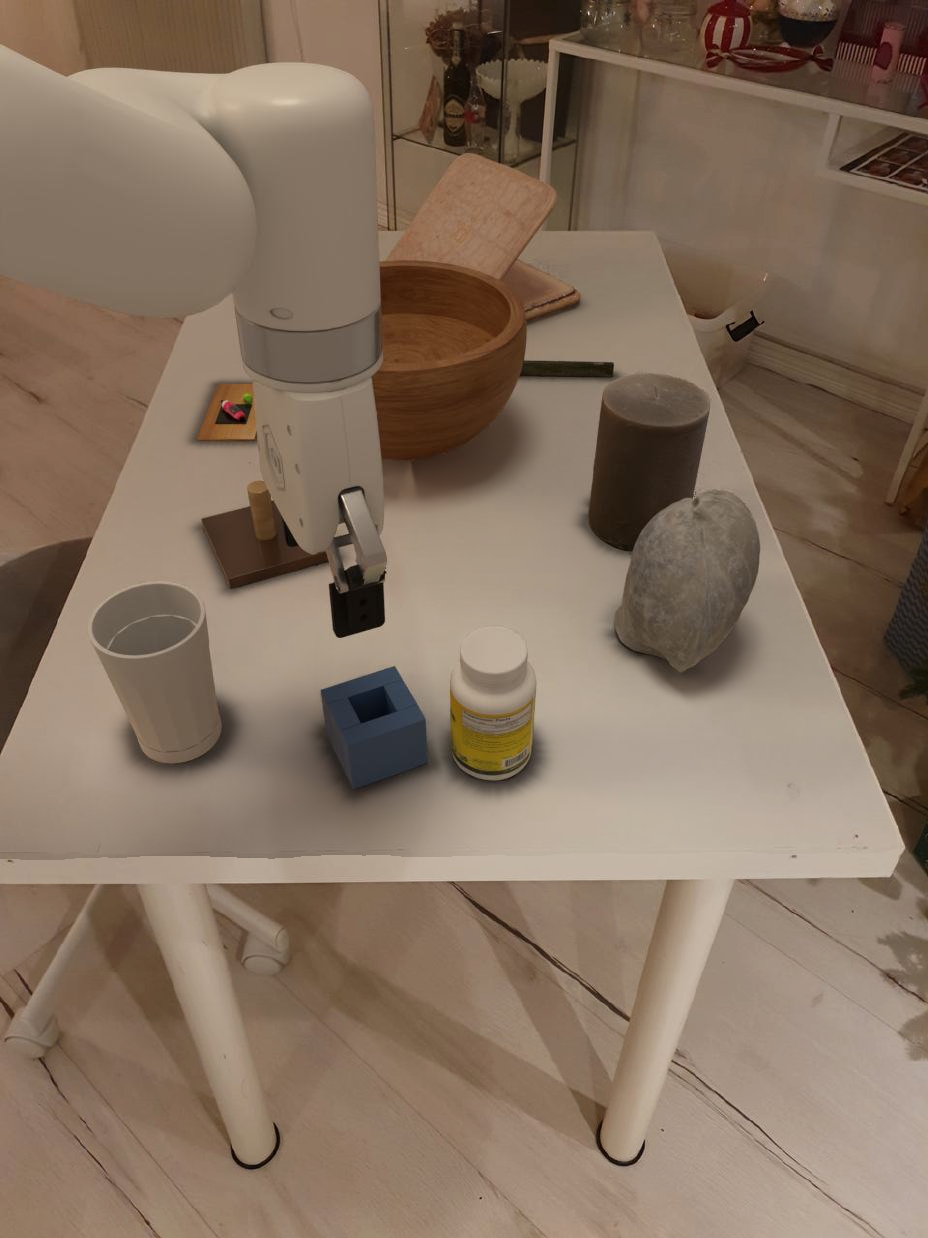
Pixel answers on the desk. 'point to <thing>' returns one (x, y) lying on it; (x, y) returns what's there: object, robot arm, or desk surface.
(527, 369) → the rod
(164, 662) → the cup
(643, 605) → the decorative stone
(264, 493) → the dowel stand
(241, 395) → the board
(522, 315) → the bowl
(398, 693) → the collar block
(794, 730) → the desk surface
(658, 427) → the pillar candle
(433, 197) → the case
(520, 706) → the pill bottle
